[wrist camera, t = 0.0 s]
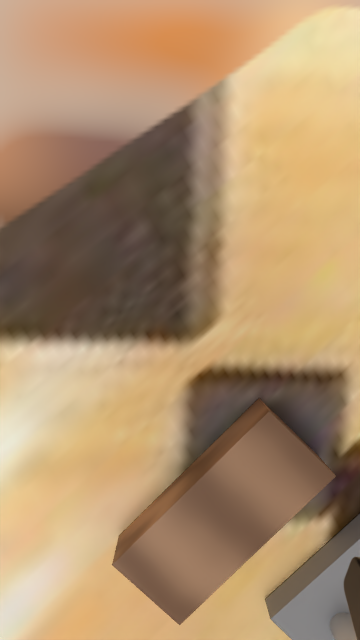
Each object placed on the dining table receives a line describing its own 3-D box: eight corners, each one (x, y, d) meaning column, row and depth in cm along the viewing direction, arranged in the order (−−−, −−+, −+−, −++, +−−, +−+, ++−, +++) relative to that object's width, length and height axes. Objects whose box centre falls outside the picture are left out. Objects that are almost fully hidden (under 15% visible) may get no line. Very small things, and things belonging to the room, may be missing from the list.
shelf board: (179, 585, 25) (179, 625, 22) (119, 531, 25) (112, 564, 22) (316, 453, 24) (335, 475, 21) (257, 396, 24) (269, 411, 21)
